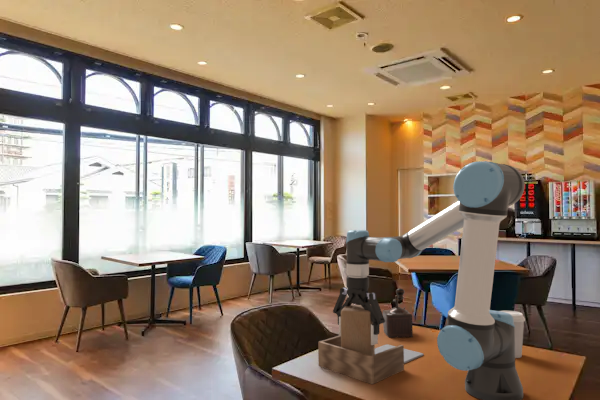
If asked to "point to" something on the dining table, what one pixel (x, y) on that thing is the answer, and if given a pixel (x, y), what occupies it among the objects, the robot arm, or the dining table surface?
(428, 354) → the dining table surface
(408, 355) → the mat
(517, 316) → the coffee cup
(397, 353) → the bracket
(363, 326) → the block
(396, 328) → the dark statue on base
